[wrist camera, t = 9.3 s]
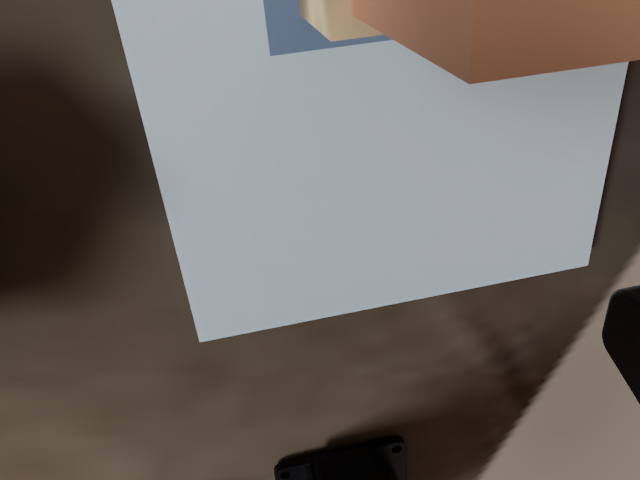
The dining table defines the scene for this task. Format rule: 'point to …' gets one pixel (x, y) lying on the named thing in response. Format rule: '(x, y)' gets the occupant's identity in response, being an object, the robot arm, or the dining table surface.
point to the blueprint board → (354, 164)
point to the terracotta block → (509, 33)
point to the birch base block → (335, 19)
